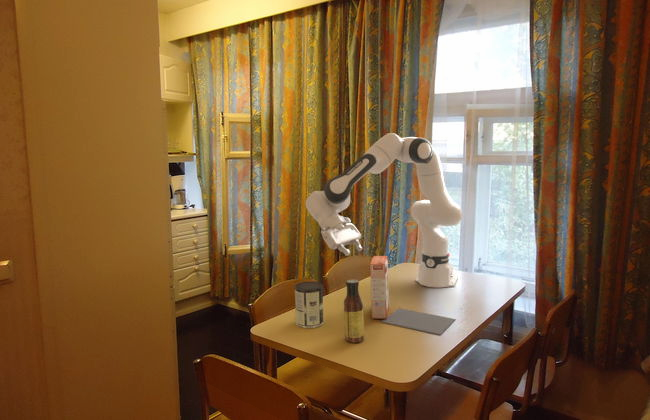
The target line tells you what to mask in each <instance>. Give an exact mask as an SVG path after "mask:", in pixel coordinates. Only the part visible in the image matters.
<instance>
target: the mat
mask: <svg viewBox="0 0 650 420" xmlns="http://www.w3.org/2000/svg"><path fill="white" fill-rule="evenodd" d="M455 321H456V318H452V317H447V316H443V315H441V316H440V315H437V314H432V313H427V312H421V311H417V310H411V309H405V308H401V307H400V308H397V309H396V310H395V311H392V313H391V314H390V315H387V319H381V321H380V323H383V324H386V325H387V324H388V325H391V326H392V325H393V326H395V327H396V326H398V327H401V328H405V329H411V330H414V331H419V332H424V333H428V334H432V335H436V336H442V335H443V334H444V332H445V331H447V330H448V329H449V327H450V326H451V325H452V324H453V323H454V322H455Z"/></svg>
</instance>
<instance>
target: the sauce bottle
mask: <svg viewBox="0 0 650 420" xmlns="http://www.w3.org/2000/svg"><path fill="white" fill-rule="evenodd" d="M359 282H360V281H359V280H357V279H348V280H346V281H345V285H346V297H345V298H344V301H343V308H344V309H343V318H344V335H345V340H346V341H347V342H349V343H354V344H357V343H361V342H363V341H364V337H365V324H364V305H363V302H362V299H361V296H360V293H359Z"/></svg>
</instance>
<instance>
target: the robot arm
mask: <svg viewBox="0 0 650 420" xmlns="http://www.w3.org/2000/svg"><path fill="white" fill-rule="evenodd" d="M394 161H397V162H402V163H407V164H411V163H413V164H414V165H415V167H416V176H417V182H418V189H419V192H420V193H421V194H423V195H424V196H425V197H426V198H427V199H423V200H417V201H415V202H413V204H412V205H411V207H410V208H411V209H410V214H411V215H410V216H411V217H412V219H413V220H414V221H415V222H416V223H417V225H418V227H419V230H420V233H421V237H422V253H421V262H420V263H419V265H418V275H417V277H416V278H414V280H415V282H417V283H418V284H419V285H421V286H425V287H428V288H446V287H447V288H448V287H455V286H456V284H457V282H458V276H457V275H454V269H453V266H452V264H450V262H449V261H450V260H449V258H450V253H449V252H448V237H447V235H446V234H444V232H443V231H442V230H441V228H440V226H441V227H451V226H452V227H453V226H457V225H458V224H460V222H461V220H462V218H463V210H462V208H461V206H460V205H459V204H458V203H456V202H455V201H454V200H453V198H452V197H451V196H450V195H449V193H448V190H447V188H446V185H445V181H444V180H445V179H444V173H443V167H442V162H441V159H440V156H439V153H438V150H436V149H435V148H433V146H432V143H431V142H430V141H429V140H428V139H426V138H424V137H415V136H408V137H400V136H399V135H397V133H394V132H393V133H392V132H389V133H386V134H385V135H383V136H382V137H380V139H379V138H378V140H377V141H375V142H374V143H373V144H372V145H371V146H370V147H369V148H368V149H367V151H365V152H364V153H363V155H362V156H361V157H359V158H358V159H357V160H356V161H354V162H353V163H352V164H351V165H350V166H349V167H347V168H346V169H345V170H344V171H343V172H342V173H340V174H339V175H336V176H333V177H332V178H330V179H328V180H327V181H326V183H325V185H324V186H323V187H324V188H323V190H315V191H312V192H311V193H310V194H309V195H308V196H307V198H306V200H305V208H306V209H307V211H308V213H309V214H310V215H311V217H312V218H313V220H315V221H316V222H317V223H318V225H319V227H320V228H321V230H320V234H321V235H322V239H323V241H324V242H325V244H326V245H327V246H328V248H329V249H330V250H332V251H333V250H336V249H338V251H339V252H341V253H342V254H344V255H345V257H346V256H347V257H348V256H350V254H351V251H350V249H348V248H346V247H345V246H347V245H348V246H349V245H351V244H353V245H354V246H355V249H356V250H357V252H361V251H362V250H363V247H362V246H361V242H360V239H361V238H362V234H361V232H360V231H359V230H358V228H357V227H356V226H355V225H354V224H353V223H351V222H352V221H351V219H350V218H349V217H345V216H342V215H340V214H339V213H341V212H343V211H345V210H346V209H348V208H349V206H350V204H351V190H352V188H353V187H354V185H355V184H357V182H359V181H360V180H361V178H363V177H365V175H367V174H369V173H370V174H373V175H378V174H381V173H382V172H384V171H385V170H386V169H387V168H388V167H390V165H391V164H392V163H393V162H394Z"/></svg>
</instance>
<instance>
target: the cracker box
mask: <svg viewBox="0 0 650 420" xmlns="http://www.w3.org/2000/svg"><path fill="white" fill-rule="evenodd" d="M388 259H389V258H388V256H387V255H374V256H372V260H371V261H370V263H369V264H370V265H369V267H370V293H371V295H370V297H371V299H370V300H371V319H380V320H384V319H387V317H388V314H389V307H390V301H389V300H390V297H389V295H390V294H389V290H390V289H389V266H388V265H389V264H388V262H389V260H388Z"/></svg>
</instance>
